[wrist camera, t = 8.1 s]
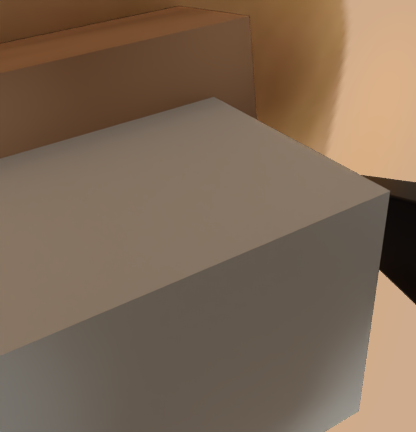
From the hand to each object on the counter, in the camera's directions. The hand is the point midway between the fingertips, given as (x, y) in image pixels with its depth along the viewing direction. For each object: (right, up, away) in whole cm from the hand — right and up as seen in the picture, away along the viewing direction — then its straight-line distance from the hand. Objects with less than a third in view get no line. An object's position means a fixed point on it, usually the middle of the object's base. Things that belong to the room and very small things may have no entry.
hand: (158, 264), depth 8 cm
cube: (-1, +1, +1) cm, 2 cm away
